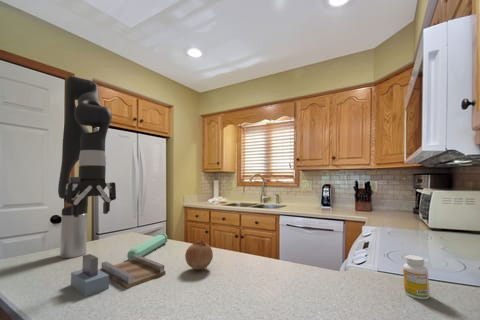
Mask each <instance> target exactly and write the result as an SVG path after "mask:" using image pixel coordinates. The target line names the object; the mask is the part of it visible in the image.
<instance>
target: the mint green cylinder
mask: <svg viewBox="0 0 480 320" xmlns="http://www.w3.org/2000/svg"><path fill="white" fill-rule="evenodd" d="M167 242H168V235H167V234H166V233H165V232H164V233H163V232H160V233H158V234H157V235H156V236H154V237H152V238H150V239H147V240H146V241H144V242H142V243H140V244H137V245H136V246H134V247H132V248H130V249H129V251H128V252H127V254H126V255H127V256H126V257H127V259H128V261H130V260H131V255H133V254H137V255H139V256H142V257H144V256H146V255H148V254H149V253H151V252H153V251H155V250H156V249H158V248H159V247H162V246H163V244H164V245H166V244H167Z"/></svg>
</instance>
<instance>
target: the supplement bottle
mask: <svg viewBox="0 0 480 320" xmlns="http://www.w3.org/2000/svg"><path fill="white" fill-rule="evenodd" d="M402 269H403V270H402V273H403V283H404V284H403V286H404V293H405V294H406V295H407V296H408V297H410V298H414V299H418V300H428V299H429V298H430V295H431V293H430V283H429V282H430V281H429V271H428V268H427V267H426V266H425V258H423V257H421V256H418V255H413V254H412V255H410V254H409V255H405V263H404V264H403V265H402Z"/></svg>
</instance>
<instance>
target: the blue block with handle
mask: <svg viewBox="0 0 480 320" xmlns="http://www.w3.org/2000/svg"><path fill="white" fill-rule="evenodd" d="M70 286H72V287H73V288H74V289H75V290H77V291H78V292H79V293H81V294H82V295H83V296H84V297H89V296H92V295H94V294H98V293H100V292H104V291H106V290H109V288H110V278H109V275H108V274H106V273H104V272H102V271H100V269H99V257H97V256H95V255H94V254H91V253H87V254H84V255H82V269H79V270H74V271H71V273H70Z"/></svg>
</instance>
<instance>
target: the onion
mask: <svg viewBox="0 0 480 320" xmlns="http://www.w3.org/2000/svg"><path fill="white" fill-rule="evenodd" d="M185 251H186V252H185V255H184V256H185V262H186V264H187V266H189V267H190V268H192V269H193V270H198V271H200V270H202V271H203V270H205V269H207V268H208V266H210V264H211V262H212V260H213V256H214V253H213V249H212V247H211V245H210V244H208V243H206V242H205V241H202V240H201V239H200V240H199V239H198V240H197V241H196V242H194V243H192V244H191V245H190V246H188V248H187V249H186V250H185Z"/></svg>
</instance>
